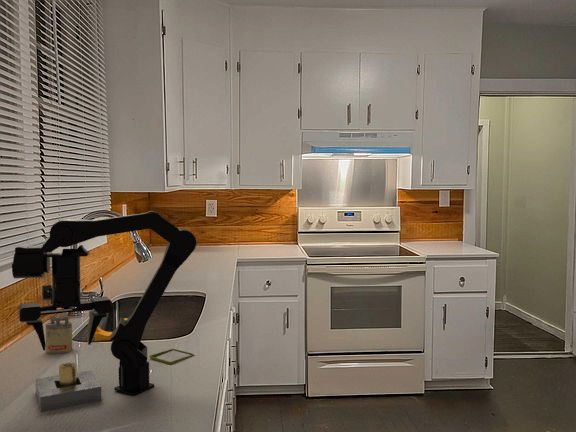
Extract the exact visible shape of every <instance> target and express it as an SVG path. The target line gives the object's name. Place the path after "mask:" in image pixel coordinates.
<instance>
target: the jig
mask: <svg viewBox="0 0 576 432" xmlns="http://www.w3.org/2000/svg"><path fill="white" fill-rule="evenodd" d="M35 394H36V398H37V403H38V406H39V410H40V412H45V411H51V410H56V409H61V408H66V407H71V406H77V405H81V404H82V405H83V404H88V403H92V402H99V401H102V385H101V384H100V382H99V380H98V379H97V377H96V375H95V374H94V372H93V370H92V369H90V370H85V371H76V385H74V386H69V387H63V388H59V374H58V375H53V376H47V377H40V378H35Z"/></svg>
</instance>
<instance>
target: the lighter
mask: <svg viewBox="0 0 576 432" xmlns="http://www.w3.org/2000/svg"><path fill="white" fill-rule="evenodd" d="M49 320H50V322H48V323H46V324H45V344H46V348H45V353H46V354H62V353H68V352H71V351H73V323H72V322H70V321H69V320H70V319H69V315H67V316H57V317H56V316H50V319H49Z"/></svg>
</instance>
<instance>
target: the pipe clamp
mask: <svg viewBox="0 0 576 432" xmlns="http://www.w3.org/2000/svg"><path fill="white" fill-rule="evenodd" d="M128 318H129V317H127V318H126V317H125V318H123V319H124V320H127V319H128ZM87 324H88V325H87V326H88V327H87V329H88V328H89V320H88V323H87ZM112 332H113V331H106V330H103V329H102V328H101V327H100V325H98V327H97V329H96V331H95V334H94V337H93V339H94V342H100V341H111V340H110V339H111V335H112ZM86 337H87V339H86V342H87V343H88V332H87V333H86Z"/></svg>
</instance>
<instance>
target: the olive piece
mask: <svg viewBox="0 0 576 432" xmlns="http://www.w3.org/2000/svg"><path fill="white" fill-rule="evenodd" d="M172 351H174V352H178V353H182V354H185V355H188V356H184V357H181V358H179V359H174V360H172V361H171V360H170V361H168V360H165V359H161V358H158V357H159V356H162V355H164V354H167V353H168V354H169V352H172ZM193 356H195V354H194V353H191V352H187V351H184V350H180V349H175V348H170V349H167V350H163V351H161V352H157V353H155V354H154V353H153V354H151V355H149V358H150V359H151V360H153V361H157V362H160V363H165V364H168V365H173V364H176V363H178V362H180V361H183V360H186V359H189V358H191V357H193Z"/></svg>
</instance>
